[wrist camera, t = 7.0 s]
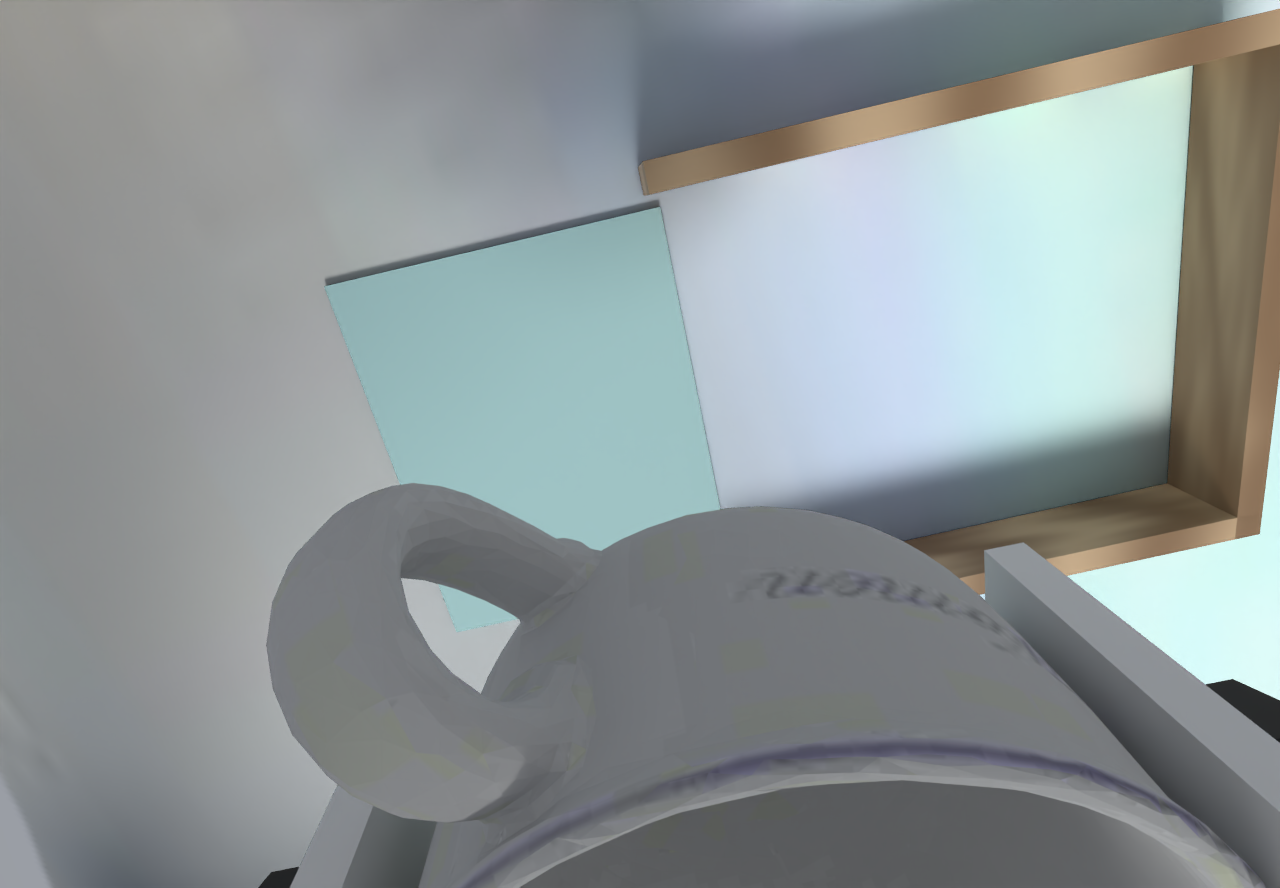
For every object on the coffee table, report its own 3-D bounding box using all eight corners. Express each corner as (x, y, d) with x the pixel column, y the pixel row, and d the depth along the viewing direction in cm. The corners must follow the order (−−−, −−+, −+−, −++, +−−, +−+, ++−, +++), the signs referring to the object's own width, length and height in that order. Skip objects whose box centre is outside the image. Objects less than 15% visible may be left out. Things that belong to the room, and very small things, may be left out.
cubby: (727, 598, 31) (741, 645, 27) (637, 167, 24) (642, 161, 21) (1187, 498, 30) (1259, 533, 27) (1223, 27, 23) (1324, -3, 20)
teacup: (1010, 728, 16) (1375, 1183, 8) (627, 906, 17) (647, 1440, 10) (763, 200, 12) (1061, 172, 4) (275, 488, 13) (-180, 870, 5)
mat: (457, 629, 30) (456, 632, 30) (326, 286, 25) (324, 286, 25) (732, 569, 30) (732, 571, 30) (659, 206, 25) (660, 206, 24)
